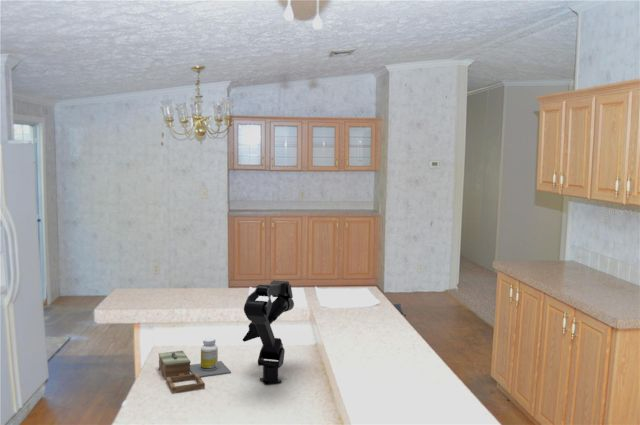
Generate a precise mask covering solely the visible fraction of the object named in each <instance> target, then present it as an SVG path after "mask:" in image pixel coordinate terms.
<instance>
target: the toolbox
mask: <svg viewBox="0 0 640 425" xmlns="http://www.w3.org/2000/svg"><path fill="white" fill-rule="evenodd" d="M190 365H191V359H190V358H189V357H188V356H187V355H186V353H185V352H184V351H183V350H176V351H168V352H158V369H159V371H160V373H161V375H162V376H163V379H164V380H165V382H166V383H165V384H166V385H167V387H168V389H169V390H170V392H171V394H179V393H185V392H193V391H200V390H205V388H206V387H205V386H206V383H205V382H204V380H203V379H202V377H201V378H200V376H199V375H198V374H197V373H194V374H192V373H191V372H190ZM189 381H195V383H189V384H183V385H175V384H176V383H182V382H189ZM174 383H175V384H174Z"/></svg>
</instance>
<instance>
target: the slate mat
mask: <svg viewBox="0 0 640 425" xmlns="http://www.w3.org/2000/svg"><path fill="white" fill-rule="evenodd" d="M194 373H197V374H198V375H199V376H200V378H201V379H202V378H207V377H214V376H222V375H229V374H232V371H231V370H230V369H229V368H228V366H226V364H225V363H224V362H223V361H222V360H218V366H217V368H216V369H215V370H211V371H205V370H202V369H201V363H196V364H190V374H194Z"/></svg>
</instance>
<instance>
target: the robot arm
mask: <svg viewBox="0 0 640 425" xmlns="http://www.w3.org/2000/svg"><path fill="white" fill-rule="evenodd" d="M271 296H272V298H275V299H274V300H273V301H272V300H271ZM293 296H294V295H293V291H292V286H291V284H290V281H287V280H276V279H274V280H272V281H271V282H270V284H258V285H257V286H256V287H255V290H253V292H252V293H250V294H249V295H248V296H247V298H246V300H245V303H244V305H243V306H244V307H243V312H244V315H245V316H246V318H247V319H248V321H250V323H249V324H248V331H247V333H246V334H245V335H244V336H243V339H242V342H244V343H245V342H247V341H251V340H253V339H257V338H259V339H260V340H261V343H262V346H261V349H260V351H259V355H258V358H257V365H258V366H260V367H261V366H262V377H259V380H260V381H261V383H262V384H264V385H266V386H267V385H268V386H269V385H274V384H280V383H282V380H281V379H280V377H279V368H281V367H282V366H283V365H284V361H285V352H286V351H285V348H284V346H283V345H284V344H283V342H282V339H281V338H280V337H279V338H278V337H275V334H274V332H273V329H272V326H271V324H273V322H275V321H277V319H278V318H279V317H280V316H281V315H282V314H284V313H286V312H289V311H291V310H292V309H293V308H294V306H295V303H294V300H293ZM259 297H267V298H268V300H267V301H265V300H257V299H258V298H259Z"/></svg>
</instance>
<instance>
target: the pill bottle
mask: <svg viewBox="0 0 640 425" xmlns="http://www.w3.org/2000/svg"><path fill="white" fill-rule="evenodd" d="M202 343H203V345H202V346H201V347H200V364H201V369H202V370H205V371H211V370H215V369H216V368H217V366H218V361H219V360H218V356H219V355H218V354H219V352H218V350H219V348H218V346H217V345H216V338H213V337H207V338H203V340H202Z"/></svg>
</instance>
